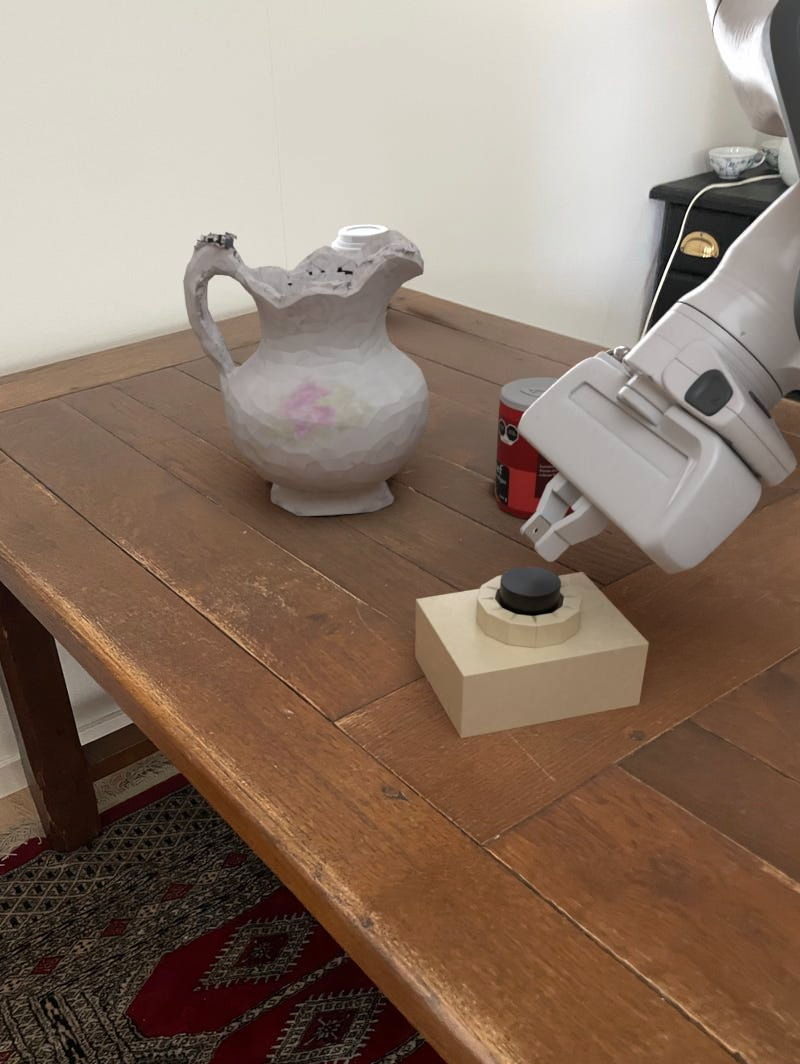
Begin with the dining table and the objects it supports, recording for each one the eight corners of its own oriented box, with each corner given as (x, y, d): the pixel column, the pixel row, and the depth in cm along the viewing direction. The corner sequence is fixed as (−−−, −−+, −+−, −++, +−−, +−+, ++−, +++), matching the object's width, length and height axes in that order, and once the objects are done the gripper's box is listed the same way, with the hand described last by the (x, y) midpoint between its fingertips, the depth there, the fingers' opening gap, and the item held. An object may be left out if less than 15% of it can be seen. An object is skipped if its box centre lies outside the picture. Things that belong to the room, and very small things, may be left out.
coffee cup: (404, 319, 148) (404, 232, 142) (344, 327, 147) (342, 239, 140) (384, 303, 156) (383, 220, 149) (326, 310, 154) (323, 226, 147)
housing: (576, 630, 79) (585, 549, 75) (639, 705, 71) (653, 619, 67) (414, 658, 77) (415, 576, 73) (460, 739, 68) (464, 652, 65)
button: (544, 584, 72) (546, 562, 71) (568, 613, 69) (571, 590, 68) (490, 593, 71) (491, 571, 70) (512, 622, 68) (514, 600, 67)
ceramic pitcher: (215, 556, 93) (186, 283, 78) (201, 457, 109) (174, 212, 93) (446, 531, 96) (461, 261, 80) (400, 437, 111) (406, 195, 96)
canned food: (507, 480, 102) (514, 372, 95) (588, 493, 98) (600, 382, 92) (482, 513, 96) (488, 400, 90) (567, 527, 93) (578, 411, 87)
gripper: (589, 311, 71) (451, 460, 75) (759, 414, 54) (570, 599, 58) (639, 366, 74) (504, 506, 78) (815, 480, 58) (632, 651, 61)
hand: (533, 547), depth 68 cm, fingers closed
